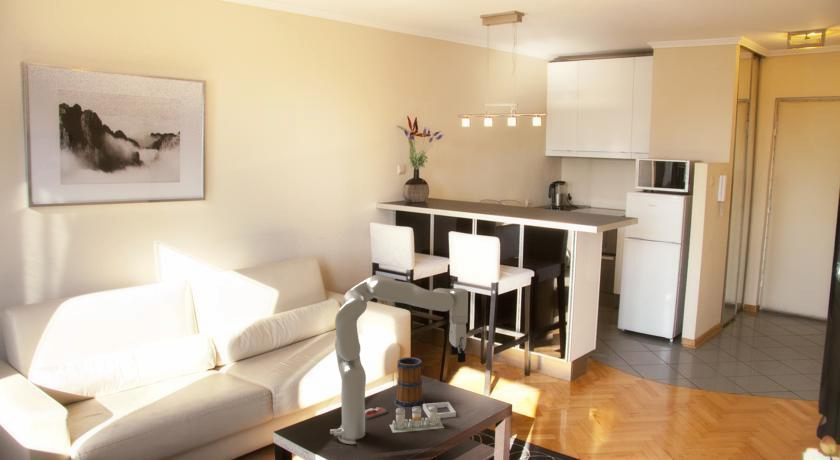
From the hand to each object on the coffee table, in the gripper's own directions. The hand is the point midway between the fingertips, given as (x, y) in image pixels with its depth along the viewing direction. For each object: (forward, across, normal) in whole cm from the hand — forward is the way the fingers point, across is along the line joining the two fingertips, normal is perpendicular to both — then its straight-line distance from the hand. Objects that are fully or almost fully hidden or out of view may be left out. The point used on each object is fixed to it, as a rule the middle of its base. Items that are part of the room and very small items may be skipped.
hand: (458, 358), depth 279 cm
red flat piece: (+31, -18, -36) cm, 51 cm away
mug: (+31, -34, -14) cm, 48 cm away
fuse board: (+31, -2, -17) cm, 35 cm away
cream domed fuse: (+29, -2, -24) cm, 38 cm away
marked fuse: (+29, -2, -17) cm, 34 cm away
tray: (+31, -14, -4) cm, 34 cm away
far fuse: (+29, -2, -10) cm, 31 cm away
